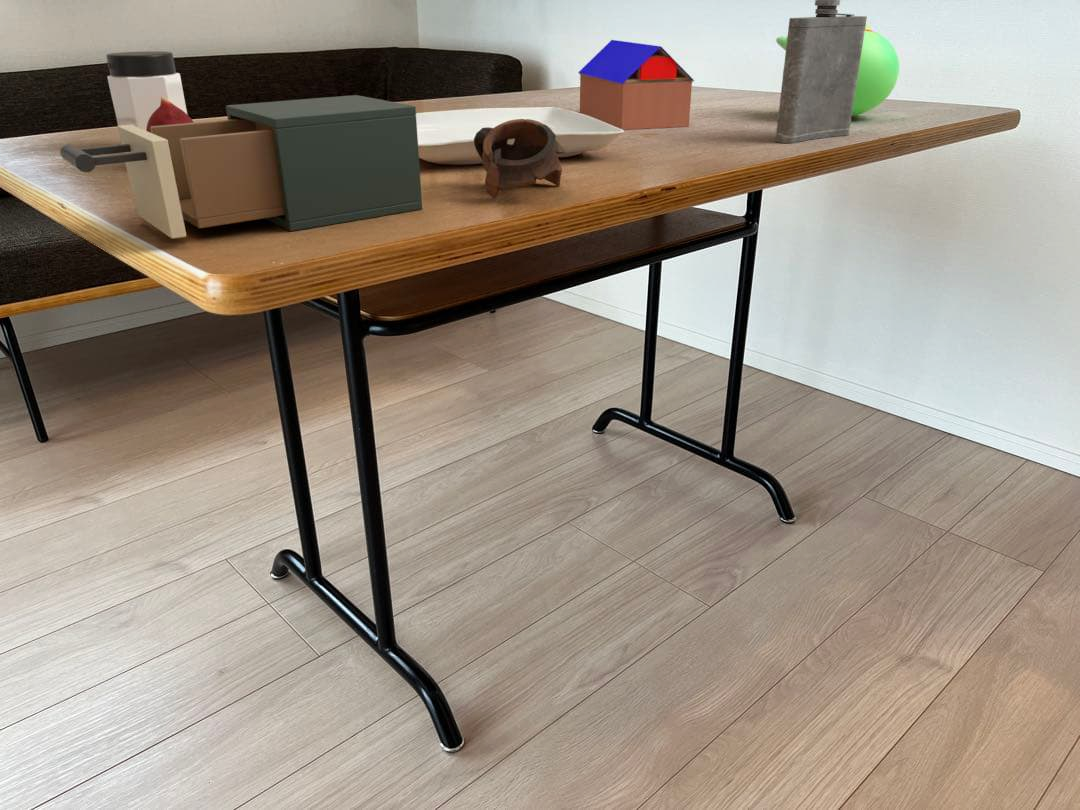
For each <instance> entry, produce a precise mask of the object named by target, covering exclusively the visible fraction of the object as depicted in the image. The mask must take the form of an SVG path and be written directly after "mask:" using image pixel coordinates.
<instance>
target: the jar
mask: <svg viewBox="0 0 1080 810" xmlns="http://www.w3.org/2000/svg"><path fill="white" fill-rule="evenodd" d="M106 61H107V62H106V65H107V68H108V70H109V75H107V83H108V87H109V91H110V96H111V100H112V101H111V102H112V104H113V109H114V110H113V111H114V113H115V118H116V123H117V126H121V125H133V126H136V127H138V128H140V129H143V130H145V131H146V129H147V124H148V121H149V118H150V117H151V115H152V114H153V112H154V111H155V110H156V109H158V108H159V107H160V104H161V97H165V98H167V99H168V101H169V102H171V103H172V104H174V105H175V106H176V107H178V108H180V109H181V110H183V111H184V112H185V113H186V114H187V115H188V110H187V104H186V100H185V99H186V98H185V95H184V89H183V88H184V87H183V83H182V78H181V73H180V72H177V69H176V64H175V59H174V53H172V52H171V51H125V52H112V53H111V52H110V53H107V54H106Z"/></svg>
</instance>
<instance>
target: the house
mask: <svg viewBox="0 0 1080 810" xmlns="http://www.w3.org/2000/svg"><path fill="white" fill-rule="evenodd" d="M577 73H578V74H579V113H581V114H584V115H587V116H590V117H593V118H595V119H598V120H600V121H603V122H605V123H608V124H610V125H612V126H615V127H617V128H619V129H622V130H624V131H626V130H627V131H628V130H643V129H644V130H645V129H662V128H663V129H664V128H681V127H682V128H683V127H684V128H685V127H689V126H690V114H691V104H692V103H691V101H692V88H693V83H694V82H695V80H694V78H693V77H692V76H691V75H690V74H688V72H687V71H686V70H685V69H684V68H683V67H682V66H681V65H680V64H679V63H678V62H677V61H676V60H675V59H674V58H673V56H671V55H670V54H669V52H667V51H666V50H665V48H663V46H660V45H653V44H646V43H638V42H631V41H626V40H625V41H623V40H617V39H611V40H609V42H608V43H606V45H604V47H603V48H601V49H600V51H599V52H597V54H595V55H594V56H593V57H592V58H591V59H590V60H589V61H588V62H587V63H586V64H585V65H584V66H583V67H582V68H581V69H580V70H579V71H578V72H577Z"/></svg>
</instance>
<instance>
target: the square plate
mask: <svg viewBox="0 0 1080 810" xmlns="http://www.w3.org/2000/svg"><path fill="white" fill-rule="evenodd" d="M515 119H525V120H526V119H530V120H535V121H538V122H540V123H542V124H545V125H547V126H548V127H549V128H550V129H551V130H552V132H554V134H555V135H556V138H555V140H556V141H557V142H558V143H559V144H560V145H561V146H562V147H563V149H564V151H565V153H561V154H557V153H556V155H557V157H558V159H559V158H567V157H573V156H577V155H580V154H582V153H584V152H590V151H591V152H592V151H597V150H600V149H604V148H606V147H608V146H609V145H611V144H612V143H614V142H615V141H616V140H618V138H619V137H620V136H622V134H624V133H625V130H622V129H619V128H617V127H615V126H612V125H610V124H608V123H605V122H603V121H600V120H598V119H595V118H593V117H590V116H587V115H584V114H581V113H580V112H577V111H573V110H569V109H565V108H561V107H557V106H539V107H538V106H536V107H535V106H534V107H533V106H532V107H487V108H485V107H484V108H482V107H481V108H464V109H451V110H450V109H449V110H448V109H447V110H438V111H426V112H425V111H424V112H416V122H417V137H418V152H419V159H420V160H423V161H426V162H428V163H429V162H430V163H432V164H437V165H444V166H445V165H447V166H466V165H481V164H483V162H482V159H481V157H480V156H479V154H478V152H477V151H476V148H475V145H474V138H475V135H476V133H477V132H478V131H480V130H481V129H482V128H486V127H489V128H494V127H496V126H498V125H499V124H502V123H504V122H507V121H510V120H515ZM514 140H515V139H508V142H507V144H512V145H513V143H514Z"/></svg>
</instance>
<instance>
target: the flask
mask: <svg viewBox="0 0 1080 810" xmlns="http://www.w3.org/2000/svg"><path fill="white" fill-rule="evenodd" d="M840 4H841V0H815V1H814V6H816V8H815V11H814V14H815V16H805V17H789V21H788V30H787V36H786V37H787V46H786V51H785V54H784V64H783V70H784V71H782V82H781V90H780V98H779V107H778V114H777V115H778V116H777V125H776V133H775V140H774V141H775V142H776V143H779V144H795V143H799V142H805V141H810V140H816V139H823V138H825V139H826V138H833V137H843V136H845V137H846V136H849V135H850V130H851V123H852V117H853V116H852V111H853V104H854V98H855V91H856V85H857V78H858V72H859V65H860V58H861V52H862V45H863V39H864V32H865V26H866V25H867V19H868V16H867V15H865V16H864V15H855V14H853V13H838V11H839V10H838V6H840Z"/></svg>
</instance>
